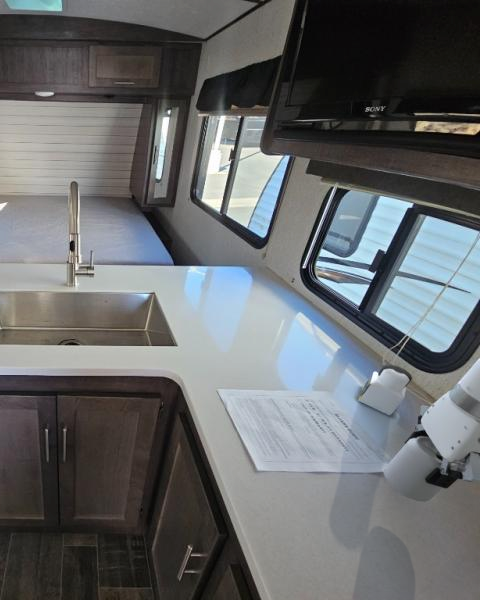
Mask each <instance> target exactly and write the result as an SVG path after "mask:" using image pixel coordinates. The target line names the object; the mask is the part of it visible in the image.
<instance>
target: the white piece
mask: <svg viewBox="0 0 480 600" xmlns="http://www.w3.org/2000/svg"><path fill="white" fill-rule="evenodd" d="M412 380H413V375H412V374H411V373H410V372H409V371H407V370H406V369H404V368H403V367H401V366H398V365H395V364H384V365H383V366H382V367H381V368H380V370H378V372H377V371H373V372H372V373H371V375H370V376H369V378H368V380H367V381H366V382H365V384H364V386H363V387H362V388H361V391H360V394H359V398H358V402H360V403H363V404H364V405H367V406H369V407H370V408H372V409H375V410H376V411H379V412H381V413H383V414H385V415H388V416H391V415H392V414H394V412H395V411H396V410H397V408H398V407H399V405H400V404H401V403H402V402H403V401H404V400H405V396H406V392H407V391H406V390H407V386H408V385H409V384H410V382H411V381H412Z"/></svg>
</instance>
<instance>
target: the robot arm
mask: <svg viewBox="0 0 480 600" xmlns="http://www.w3.org/2000/svg"><path fill="white" fill-rule="evenodd" d="M419 411H420V412H419V415H418V417H417V424H415V425H414V427H413V429H414V431H413V432H412V433H411V434H410V436H408V437H407V439H406V440H405V441H404V445H405V444H406V443H407V442H408V441H409V440H410V439H413V438H417V437H420V436H424V437H430V439H431V440H432V442H433V443H434V445H435V447H436V448H437V450H438V451H439V453H440V454H441V455H442V456H443V460H442V464H441V468H435V469H434V470H433V471H432V472H431V473H430V474H429V475H428V476H427V477H426V478H425V481H426V483H428V484H432V485H435V486H439V487H442V489H448V488H450V487H451V486H452V485H453V484H454V483H456V482H457V480H461V481H465V482H468V483H477V484H480V357H479V358H478V359H477V360H476V361H475V362H474V363H473V365H472V366H471V367H470V368H469V369H468V371H467V372H466V373H465V374H463V376H462V377H461V379H460V380H459V381H458V382H457V383H456V384H455V386H454V387H453V388H452V389H451V390H449V391H447V392H445V394H443V395H441V396H440V397H439V398H438V399H437V400H436V401H434V403H432V405H430V406H427V405H421V406H420V410H419ZM452 463H456V464H458V467H457V471H455V470H451V469H450V468H451V464H452Z"/></svg>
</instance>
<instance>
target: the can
mask: <svg viewBox="0 0 480 600" xmlns="http://www.w3.org/2000/svg"><path fill="white" fill-rule="evenodd" d="M442 460H443V456H442V455H441V454H440V453H439V451H438V450H437V448H436V447H435V445H434V443H433V442H432V440H431V439H430V437H424V436H420V437H417V438H413V439H410V440H409V441H408V442H407V443H406V444H405V443H404V445H403V447H402V448H401V449H400V450H399V451H398V452H397V454H396V455H395V456H393V458H392V459H391V460H390V462H388V464H387V465H386V466H385V467H384V468H383V475H384V478H385V480H386V481H387V482H388V484H389V485H390V487H392V488H393V489H394V490H395V491H396V492H397V493H399V494H400V495H401V496H404V497H406V498H408V499H411V500H412V501H413V500H414V501H417V502H423V503H426V502H428V501H430V500H431V499H432V498H433V497H435V496H436V495H437V494H438V493H439V492H440V491H441V490H442V489H443V488H442V487H439V486H435V485H432V484H428V483H426V481H425V478H426V477H427V476H428V475H429V474H430V473H431V472H432V471H433V470H434V469H435V468H441V464H442ZM457 467H458V464H456V463H452V464H451V468H450V469H451V470H455V471H457Z"/></svg>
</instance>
